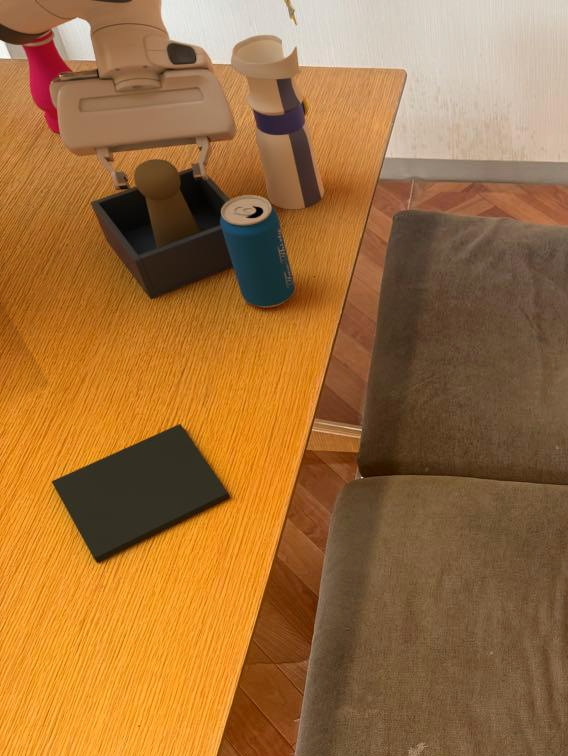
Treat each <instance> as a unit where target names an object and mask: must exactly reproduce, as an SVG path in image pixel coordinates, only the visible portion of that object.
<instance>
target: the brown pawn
mask: <svg viewBox="0 0 568 756" xmlns="http://www.w3.org/2000/svg"><path fill="white" fill-rule="evenodd" d="M178 172H179V170H178V169H177V168H176V166H175V165H174V164H172V163H171V161H168V160H165V159H159V158H158V159H157V158H154V159H148V160H146V161H143V162H142V163H140V164H139V165H138V166H137V167H135V171H134V174H133V179H134V184H135V187H136V186H137V188H138V190H139V191H140V192H141V193H142V194H143V195H144V196H145V198H146V202H147V207H148V211H149V216H150V220H151V225H152V229H153V234H154V238H155V243H156V247H157V248H160V247H163V246H165V245H168V244H171V243H173V242H176V241H179V240H182V239H184V238H187V237H190V236H192V235H195V234H198V233H201V232H200V230H199V228H198V226H197V224H196V222H195V220H194V218H193V216H192V214H191V212H190V209H189V207H188V205H187V203H186V201H185V199H184V197H183V195H182V193H181V191H180V189H179V188H180V185H181V182H180V176H179V173H178Z"/></svg>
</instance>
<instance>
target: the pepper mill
mask: <svg viewBox="0 0 568 756" xmlns="http://www.w3.org/2000/svg"><path fill="white" fill-rule="evenodd" d="M54 38H55V32H54V31H53V28H52V29H50V30H49V31H48V32H46V33H45V34H43V35H42V36H40V37H38V38H37V39H35V40H34V41H32V42H30V43H28V44H25V45H21V47H22V48H23V51H24V52H25V56H26V58H27V63H28V69H29V71H28V72H29V91H30V94H31V98H32V101H33V103H34V104H35V106H36V107H37V108H39V109H40V110H41V111H42V112H44V119H45V121H46V124H47V127H48V128H49V129H50V130H51V131H52V132H55V133H57V134H60V131H59V123H58V113H57V109H56V108H55V107H54V105H53V103H52V98H51V94H50V84H51V82H52V80H53V79H54V78H56V77H58V76H59V73H62V72H74V71H73V70H72V69H71V68H70V66H68V64H66V62H65V60H63V58H62V56H61V55H60V53H59V50H58V48H57V47H56V43H55V41H54ZM57 82H61V80H59V81H57Z"/></svg>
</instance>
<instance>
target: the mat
mask: <svg viewBox="0 0 568 756" xmlns="http://www.w3.org/2000/svg"><path fill="white" fill-rule="evenodd" d="M51 483H52V485H53V487H54V489H55V490H56V493H57V494H58V496H59V498H60V499H61V501H62V503H63V505H64V507H65V509H66V511H67V513H68V514H69V516H70V518H71V520H72V521H73V523H74V525H75V527H76V529H77V530H78V533H79V534H80V536H81V538H82V540H83V541H84V543H85V545H86V547H87V549H88V551H89V553H90V554H91V556H92V558H93V559H94V562H96V563H100V562H102V561H103V560H106V559H108V558H110V557H112V556H114V555H116V554H118V553H120V552H122V551H125V550H127V549H128V548H131V547H132V546H134V545H136V544H138V543H140V542H143V541H145V540H146V539H149V538H151V537H153V536H155V535H157V534H159V533H161V532H162V531H165V530H167V529H169V528H171V527H173V526H175V525H178V524H179V523H181V522H184V521H186V520H187V519H189V518H191V517H193V516H195V515H197V514H199V513H201V512H204V511H206V510H208V509H210V508H212V507H214V506H216V505H218V504H219V503H222V502H225V501H226V500H228V499H230V498H231V497H230V494H229V492H228V490H227V489H226V487H225V486H224V485H223V483H222V482H221V480H220V479H219V477H218V476H217V474H216V473H215V472H214V470H213V469H212V467H211V466H210V464H209V463H208V461H207V460H206V458H205V457H204V456H203V454H202V453H201V451H200V449H199V448H198V447H197V446H196V444H195V442H193V440H192V438H191V437H190V434H188V433H187V431H186V429H185V428H184V427H183V426H182V424H181V423H179V424H176V425H174V426H172V427H169V428H168V429H165V430H163V431H161V432H158V433H155V434H154V435H152V436H149V437H147V438H144V439H142V440H141V441H138V442H136V443H134V444H132V445H129V446H127V447H125V448H123V449H121V450H118V451H115V452H114V453H111V454H110V455H109V454H108V455H107V456H105V457H103V458H101V459H98V460H96V461H94V462H91V463H88V464H87V465H85V466H83V467H80V468H78V469H76V470H73V471H71V472H69V473H67V474H65V475H63V476H60V477H58V478H55V479H53V480H51Z"/></svg>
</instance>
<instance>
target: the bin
mask: <svg viewBox="0 0 568 756" xmlns="http://www.w3.org/2000/svg"><path fill="white" fill-rule="evenodd" d="M178 173H179V176H180V182H181V185H180V188H179V189H180V191H181V193H182V195H183V197H184V199H185V201H186V203H187V205H188V207H189V209H190V212H191V214H192V216H193V218H194V220H195V222H196V224H197V226H198V228H199V230H200V232H201V233H198V234H195V235H192V236H190V237H187V238H184V239H182V240H179V241H176V242H173V243H171V244H168V245H165V246H163V247H160V248H157V247H156V243H155V238H154V234H153V229H152V225H151V220H150V216H149V211H148V207H147V202H146V198H145V196H144V195H143V194H142V193H141V192H140V191H139V190H138V188H137V186H136V185H135V186H133V187H130V189H125V190H121V191H119V192H116V193H112V194H110V195H108V196H104V197H100V198H99V199H95V200H93V201H90V206H91V207H92V210H93V212H94V215H95V217H96V219H97V221H98V224H99V226H100V229H101V231H102V234H103V235H104V238H105V240H106V242H107V243H108V244H109V246H110V247H111V249H112V250H113V252H115V254H116V255H117V256H118V258H119V259H120V260H121V262H122V263H123V264H124V266H125V268H127V270H128V271H129V273H130V274H131V275H132V277H133V278H134V279H135V280H136V282H137V283H138V285H139V286H140V287H141V289H142V290H143V291H144V292H145V294H146V295H147V297H148V298H149V299H150V300H152V299H154V298H156V297H159V296H161V295H164V294H167V293H170V292H171V291H174V290H177V289H180V288H182V287H185V286H187V285H190V284H193V283H195V282H197V281H201V280H203V279H205V278H207V277H211V276H213V275H215V274H216V275H217V274H218V273H220V272H224V271H226V270H228V269H231V268H234V267H233V264H232V261H231V258H230V254H229V251H228V248H227V245H226V241H225V238H224V235H223V231H222V228H221V225H220V219H221V216H222V215H221V209H222V207H223V205H224V204H225V203H226V202H228V201H229V200H231V199H230V197H229V196H228V195H227V194H226V193H225V192H224V191H223V190H222V189H221V188H220V186H219V185H218V184H217V183H216V182H215V181H214V180H213V179H212V178H211V176H210V175H208V180H205V181H204V180H203V181H196V180H195V179H194V176H193V170H192V167H190V168H187V169H184V170H181V171H178Z"/></svg>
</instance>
